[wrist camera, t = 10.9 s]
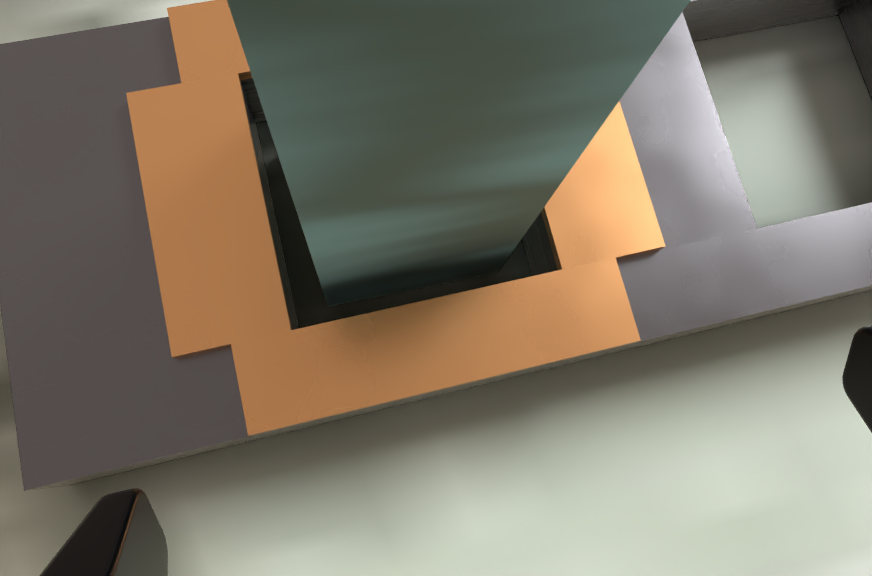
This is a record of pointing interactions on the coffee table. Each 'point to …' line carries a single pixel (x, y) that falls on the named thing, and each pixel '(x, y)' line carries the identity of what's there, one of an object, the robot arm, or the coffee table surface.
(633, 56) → the peg
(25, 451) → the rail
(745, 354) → the coffee table surface
